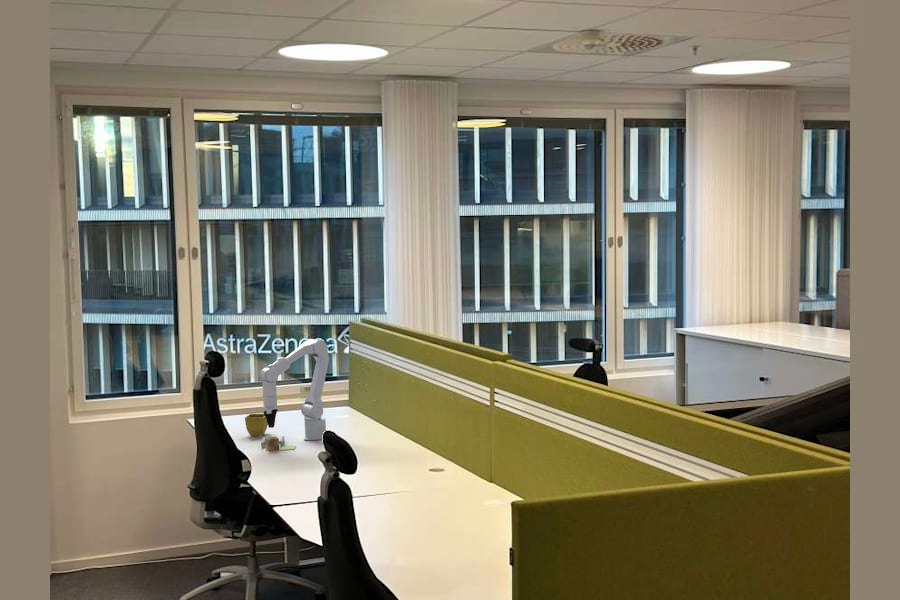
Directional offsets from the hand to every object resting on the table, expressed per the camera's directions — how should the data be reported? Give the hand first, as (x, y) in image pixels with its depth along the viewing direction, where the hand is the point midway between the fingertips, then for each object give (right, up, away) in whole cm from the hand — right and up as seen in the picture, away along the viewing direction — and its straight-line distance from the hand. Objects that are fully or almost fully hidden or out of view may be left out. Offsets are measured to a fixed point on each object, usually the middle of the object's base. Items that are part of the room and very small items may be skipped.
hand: (271, 427), depth 396 cm
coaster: (+8, -9, -5) cm, 12 cm away
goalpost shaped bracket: (0, -8, +3) cm, 9 cm away
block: (+2, -9, -5) cm, 10 cm away
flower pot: (-11, -7, +24) cm, 27 cm away
